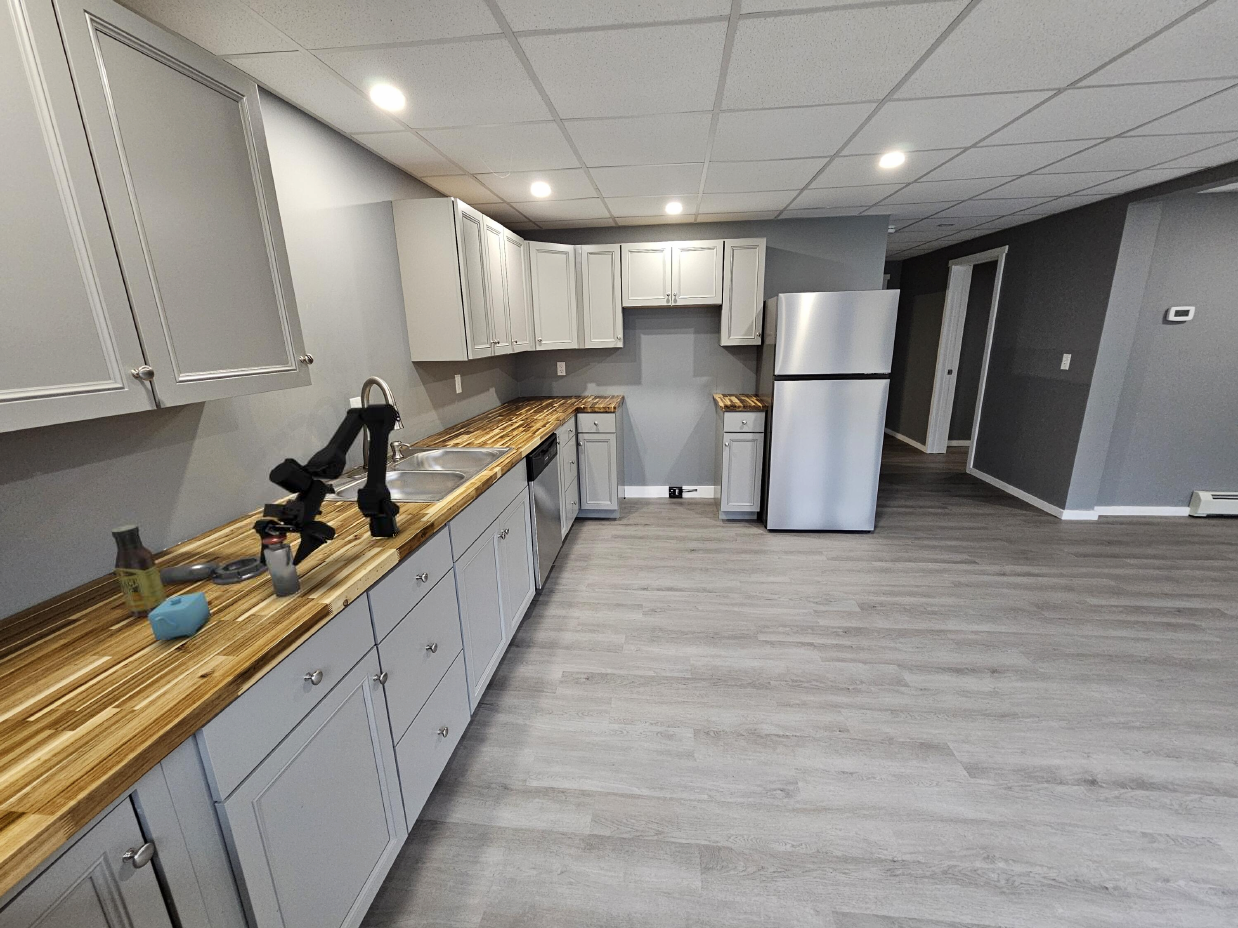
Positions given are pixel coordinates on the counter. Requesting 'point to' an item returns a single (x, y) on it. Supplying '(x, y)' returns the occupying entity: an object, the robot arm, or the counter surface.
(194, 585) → the counter surface
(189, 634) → the teapot
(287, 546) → the jar with red lid
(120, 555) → the sauce bottle
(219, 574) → the dark grey handled piece
